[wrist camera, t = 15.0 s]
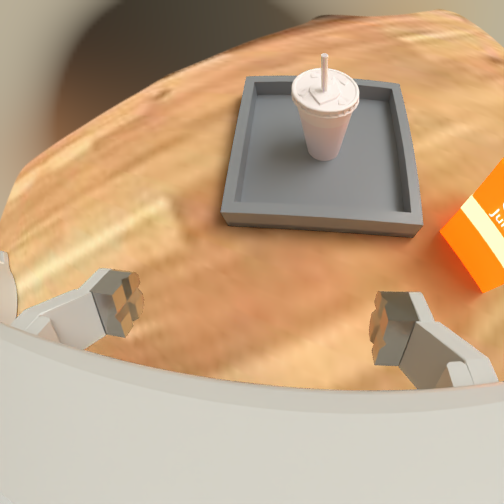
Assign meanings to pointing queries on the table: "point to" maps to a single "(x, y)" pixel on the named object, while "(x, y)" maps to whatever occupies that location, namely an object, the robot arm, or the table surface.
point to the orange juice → (481, 232)
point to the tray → (323, 166)
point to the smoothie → (324, 108)
